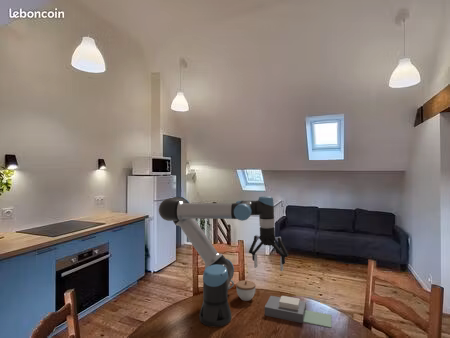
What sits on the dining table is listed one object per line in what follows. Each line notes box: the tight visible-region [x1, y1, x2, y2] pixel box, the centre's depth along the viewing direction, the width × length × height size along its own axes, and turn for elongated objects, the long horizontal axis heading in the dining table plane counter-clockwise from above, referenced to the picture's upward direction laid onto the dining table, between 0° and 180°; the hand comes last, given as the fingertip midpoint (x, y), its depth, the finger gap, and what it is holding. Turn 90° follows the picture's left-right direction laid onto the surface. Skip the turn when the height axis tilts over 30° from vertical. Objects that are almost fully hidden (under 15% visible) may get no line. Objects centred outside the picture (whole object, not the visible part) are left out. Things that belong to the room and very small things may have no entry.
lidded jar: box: [235, 279, 257, 302], centre depth 145 cm, size 11×11×9 cm
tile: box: [279, 295, 301, 310], centre depth 129 cm, size 9×7×2 cm
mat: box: [303, 309, 332, 329], centre depth 124 cm, size 12×11×1 cm
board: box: [264, 295, 307, 324], centre depth 130 cm, size 18×13×4 cm
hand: (268, 268), depth 133 cm, fingers open, 13 cm apart
